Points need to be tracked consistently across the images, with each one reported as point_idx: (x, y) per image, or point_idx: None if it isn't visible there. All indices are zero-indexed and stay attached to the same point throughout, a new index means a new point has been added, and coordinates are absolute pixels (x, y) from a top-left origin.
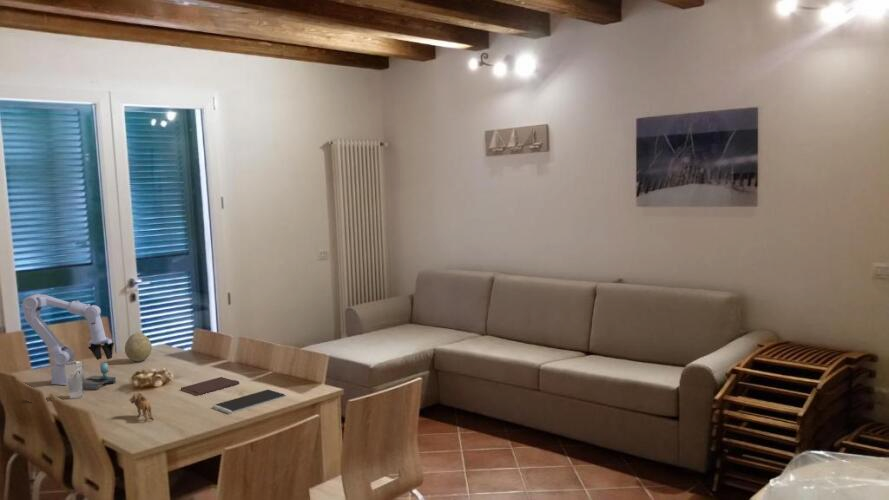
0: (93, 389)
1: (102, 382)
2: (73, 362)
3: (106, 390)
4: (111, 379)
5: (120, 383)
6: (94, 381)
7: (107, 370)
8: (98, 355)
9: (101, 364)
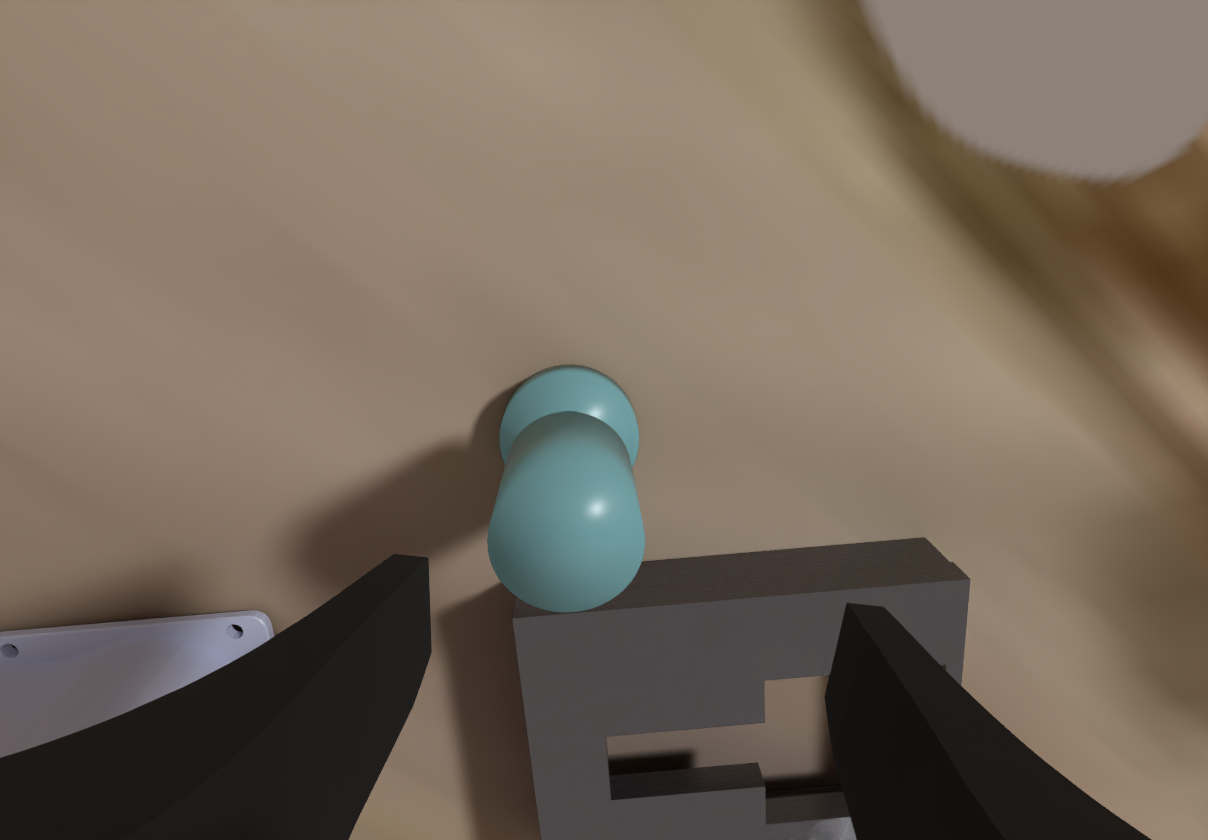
0: None
1: None
2: None
3: None
4: (956, 640)
5: (1003, 524)
6: None
7: (630, 466)
8: (388, 684)
9: (573, 604)
